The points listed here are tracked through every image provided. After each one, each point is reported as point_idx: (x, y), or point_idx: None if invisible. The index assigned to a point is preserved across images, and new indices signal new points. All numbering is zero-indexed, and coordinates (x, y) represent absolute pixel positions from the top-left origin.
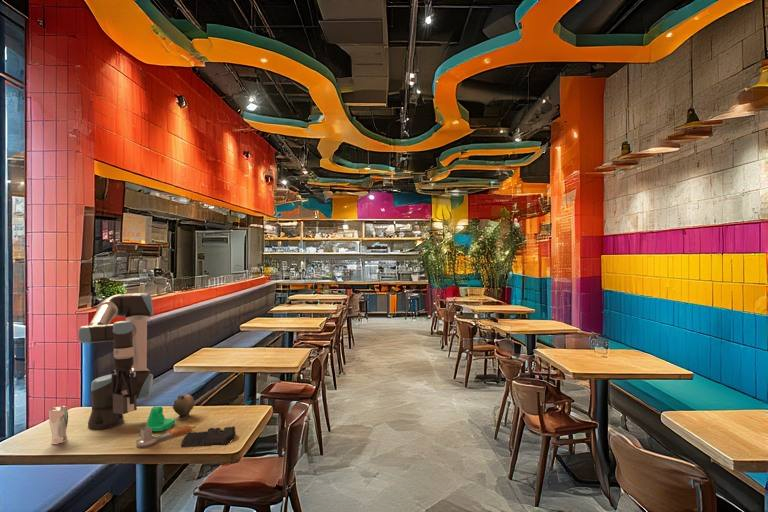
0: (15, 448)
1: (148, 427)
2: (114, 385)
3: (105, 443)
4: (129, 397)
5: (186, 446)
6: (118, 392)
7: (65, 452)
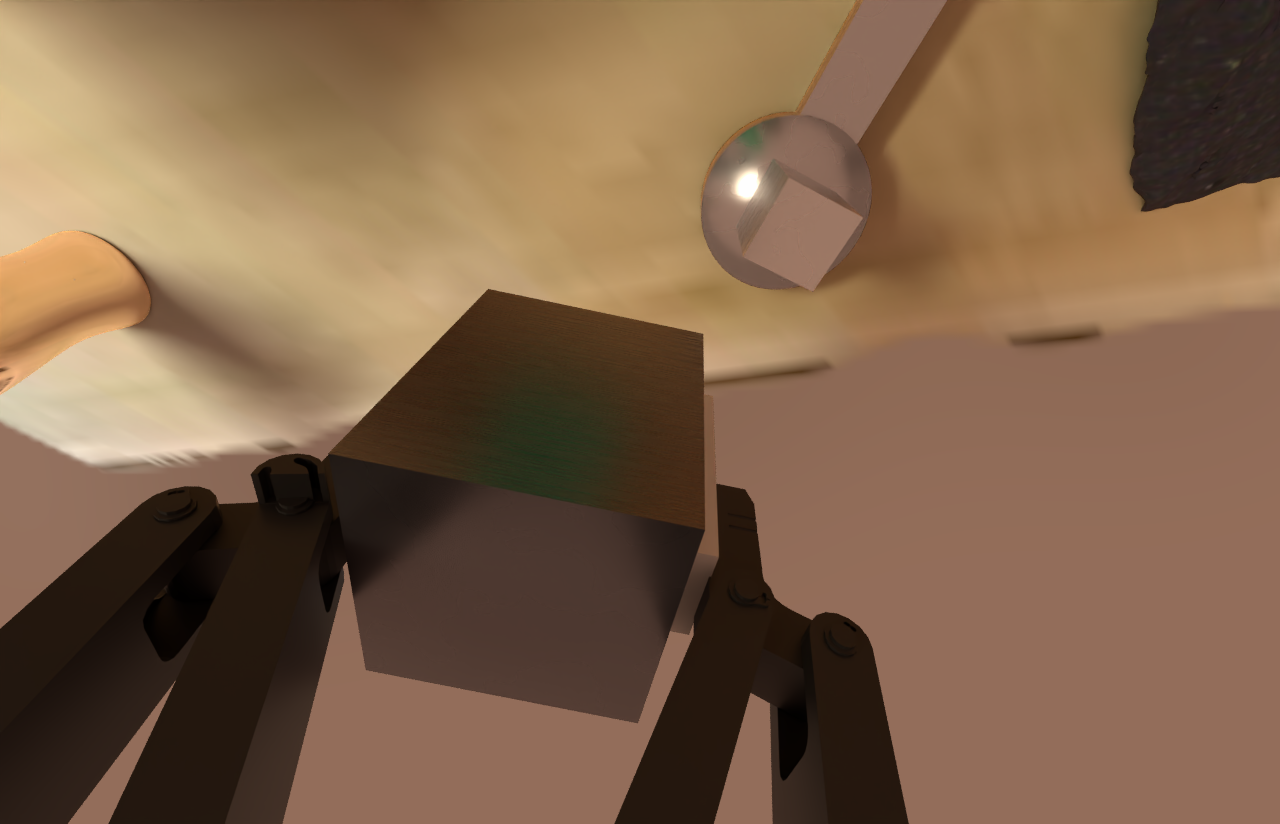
0: (14, 401)
1: (815, 214)
2: (122, 715)
3: (436, 246)
4: (696, 609)
5: (1196, 194)
6: (372, 607)
7: (342, 408)
